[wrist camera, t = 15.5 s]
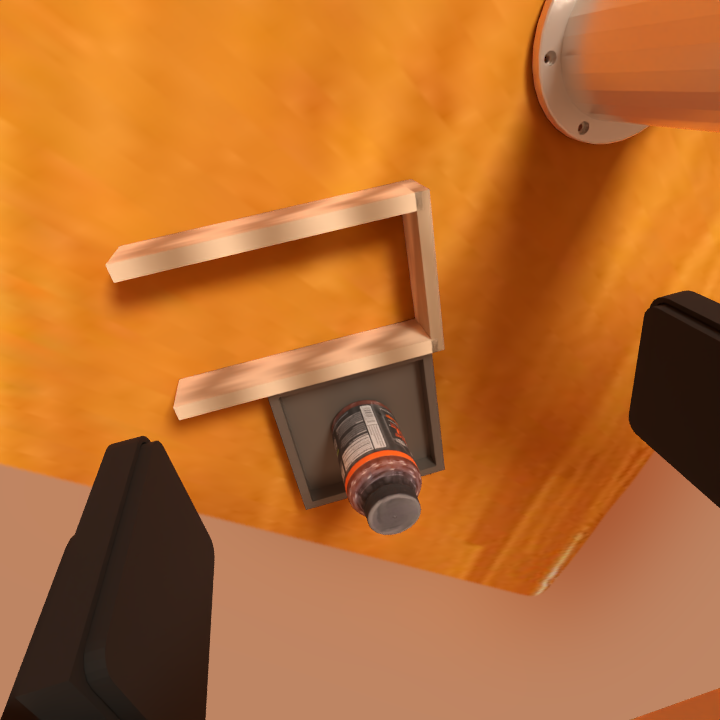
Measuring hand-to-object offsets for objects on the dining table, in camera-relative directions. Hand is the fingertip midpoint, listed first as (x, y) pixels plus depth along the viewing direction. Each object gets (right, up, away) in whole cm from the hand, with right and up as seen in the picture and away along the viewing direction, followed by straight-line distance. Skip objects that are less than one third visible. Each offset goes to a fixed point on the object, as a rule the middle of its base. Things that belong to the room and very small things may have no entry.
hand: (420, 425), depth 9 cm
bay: (-6, +7, +28) cm, 29 cm away
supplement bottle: (-1, -5, +35) cm, 35 cm away
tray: (-1, -4, +36) cm, 36 cm away
